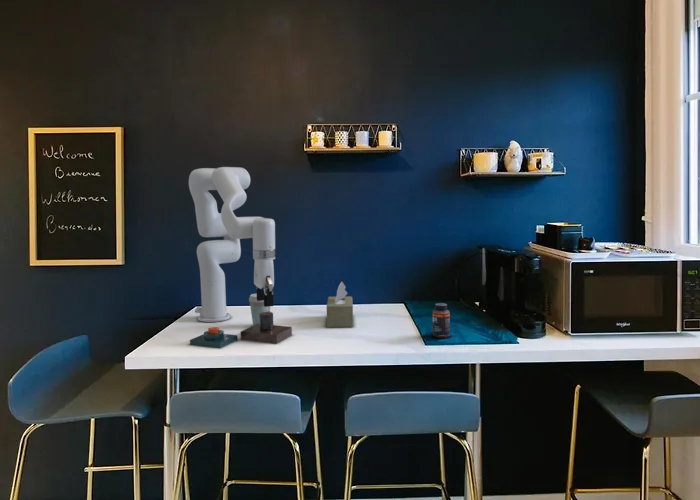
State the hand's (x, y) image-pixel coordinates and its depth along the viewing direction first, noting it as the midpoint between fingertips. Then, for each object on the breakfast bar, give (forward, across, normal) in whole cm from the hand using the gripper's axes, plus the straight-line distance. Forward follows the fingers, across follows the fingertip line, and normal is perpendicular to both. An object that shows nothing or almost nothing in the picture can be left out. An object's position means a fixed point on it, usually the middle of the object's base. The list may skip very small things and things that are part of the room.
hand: (264, 303), depth 175 cm
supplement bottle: (+11, +26, +55) cm, 62 cm away
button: (+9, -1, -17) cm, 20 cm away
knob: (+9, +1, 0) cm, 9 cm away
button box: (+12, -1, -17) cm, 21 cm away
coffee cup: (+13, -15, +2) cm, 20 cm away
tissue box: (+12, -8, +32) cm, 35 cm away
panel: (+12, +1, 0) cm, 12 cm away
